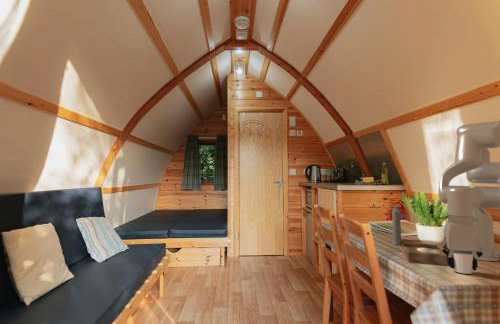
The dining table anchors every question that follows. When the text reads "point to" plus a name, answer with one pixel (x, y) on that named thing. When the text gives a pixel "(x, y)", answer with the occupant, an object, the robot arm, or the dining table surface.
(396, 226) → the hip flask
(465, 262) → the white cup
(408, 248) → the rack
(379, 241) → the dining table surface
